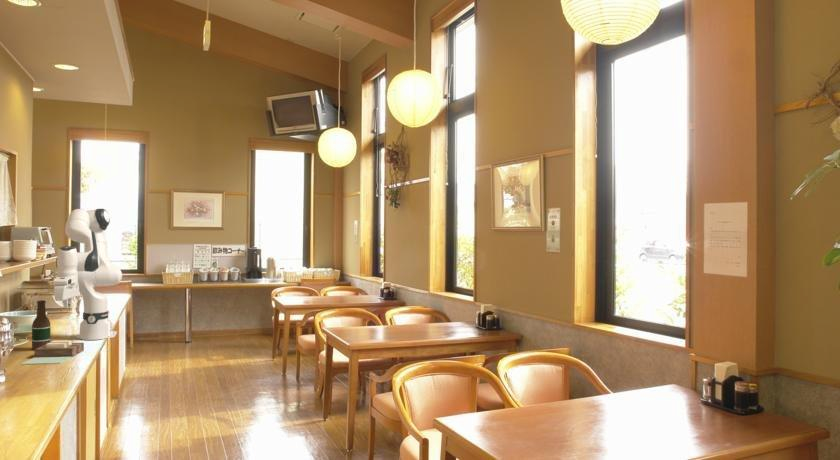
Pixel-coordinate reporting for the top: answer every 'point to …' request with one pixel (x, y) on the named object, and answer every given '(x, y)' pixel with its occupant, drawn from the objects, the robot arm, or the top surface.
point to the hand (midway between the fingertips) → (67, 307)
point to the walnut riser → (59, 351)
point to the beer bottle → (40, 327)
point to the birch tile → (59, 344)
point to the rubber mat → (46, 360)
